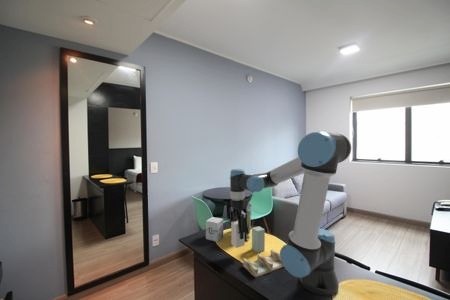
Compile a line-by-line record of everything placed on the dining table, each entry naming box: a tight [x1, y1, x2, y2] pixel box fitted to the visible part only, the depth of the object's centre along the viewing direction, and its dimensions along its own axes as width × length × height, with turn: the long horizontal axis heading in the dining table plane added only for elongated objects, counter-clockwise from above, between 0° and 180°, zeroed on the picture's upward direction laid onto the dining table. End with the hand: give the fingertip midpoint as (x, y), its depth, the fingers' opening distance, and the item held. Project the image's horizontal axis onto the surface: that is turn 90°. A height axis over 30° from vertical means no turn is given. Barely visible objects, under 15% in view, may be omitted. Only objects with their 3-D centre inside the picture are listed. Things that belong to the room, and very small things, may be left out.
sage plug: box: [251, 226, 266, 254], centre depth 117 cm, size 5×5×12 cm
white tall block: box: [230, 220, 245, 249], centre depth 110 cm, size 5×5×12 cm
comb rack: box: [242, 249, 285, 278], centre depth 101 cm, size 10×19×4 cm, turn 119°
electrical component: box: [243, 200, 253, 242], centre depth 136 cm, size 18×10×20 cm, turn 168°
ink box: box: [205, 216, 224, 243], centre depth 131 cm, size 8×8×12 cm
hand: (237, 242), depth 110 cm, fingers closed on white tall block, 5 cm apart
